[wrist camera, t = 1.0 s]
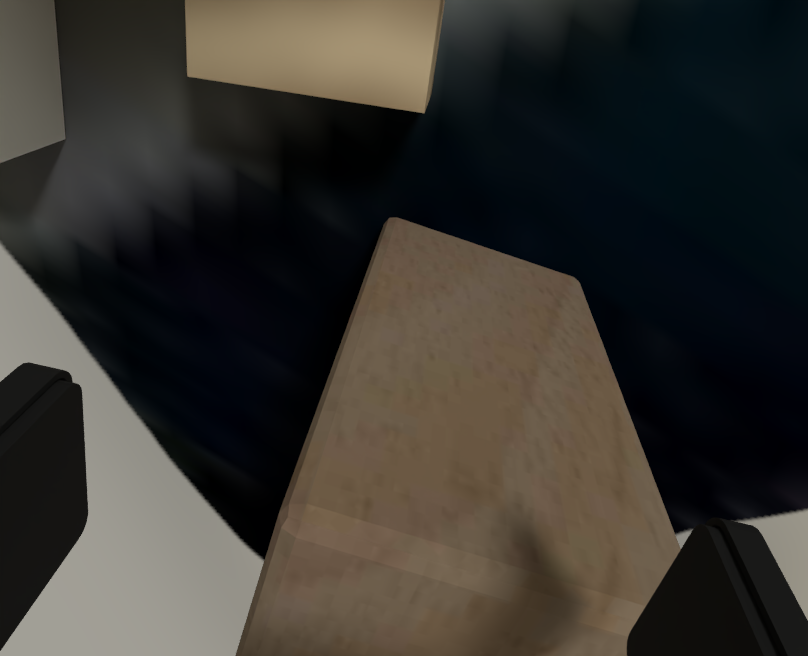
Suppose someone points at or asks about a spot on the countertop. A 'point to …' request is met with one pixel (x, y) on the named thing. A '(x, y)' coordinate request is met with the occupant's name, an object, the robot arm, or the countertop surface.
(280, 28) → the oak block
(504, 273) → the wooden block
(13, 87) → the cream board
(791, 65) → the countertop surface
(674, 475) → the countertop surface
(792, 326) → the countertop surface
